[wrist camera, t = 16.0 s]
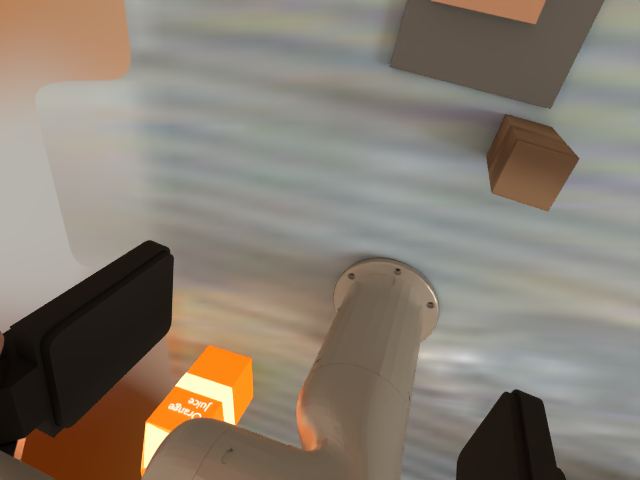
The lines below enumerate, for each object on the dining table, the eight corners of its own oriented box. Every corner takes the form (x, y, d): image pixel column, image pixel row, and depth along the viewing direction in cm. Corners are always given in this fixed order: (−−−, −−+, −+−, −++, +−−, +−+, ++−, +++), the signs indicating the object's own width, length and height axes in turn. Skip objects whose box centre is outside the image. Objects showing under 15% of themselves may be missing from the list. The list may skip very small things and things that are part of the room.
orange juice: (252, 358, 61) (169, 483, 44) (253, 397, 65) (178, 524, 48) (207, 344, 63) (112, 459, 46) (212, 383, 67) (126, 501, 50)
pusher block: (529, 169, 36) (548, 211, 28) (486, 156, 37) (491, 193, 28) (552, 127, 34) (579, 158, 26) (505, 114, 35) (517, 140, 26)
